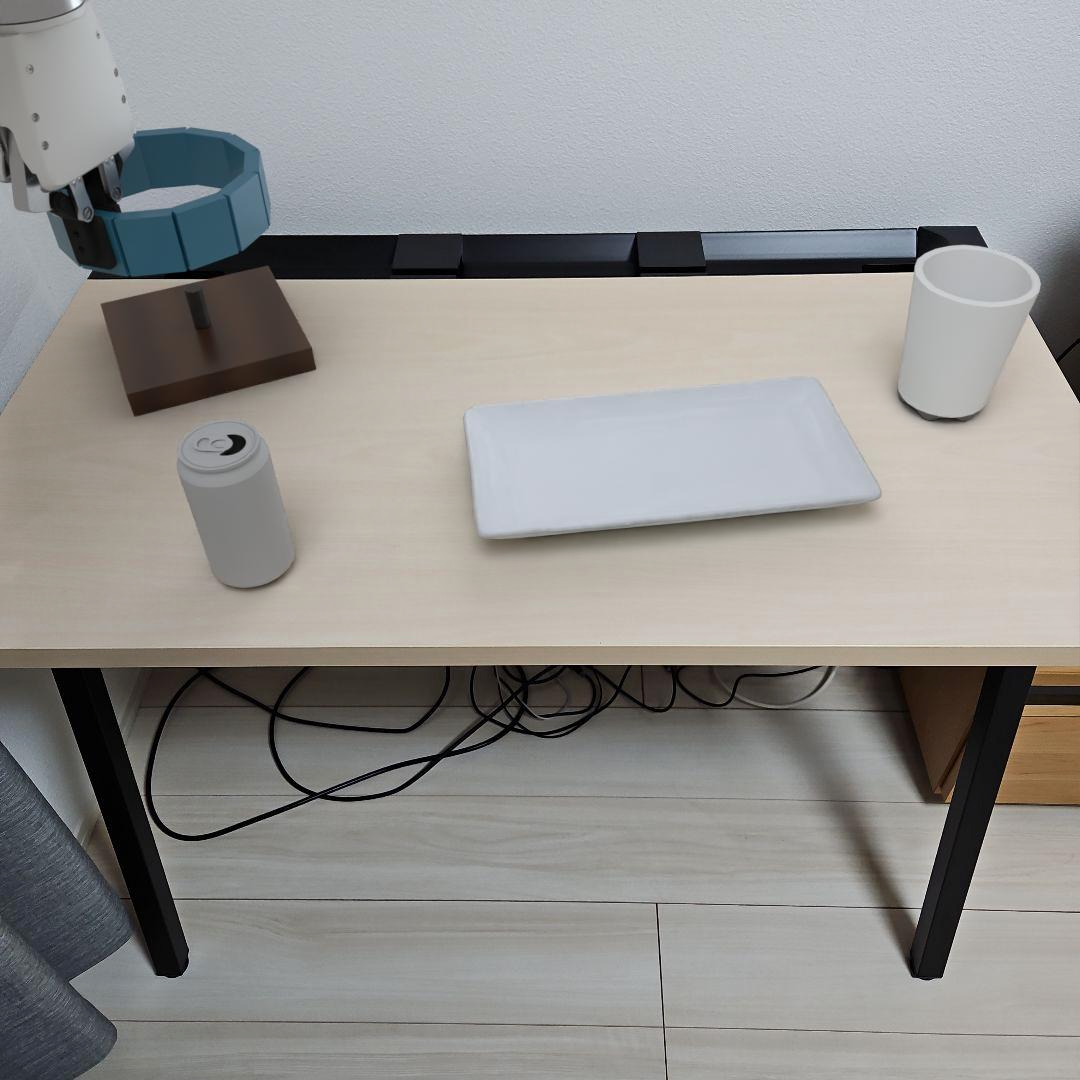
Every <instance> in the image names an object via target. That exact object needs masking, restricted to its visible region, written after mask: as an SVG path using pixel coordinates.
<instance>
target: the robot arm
mask: <svg viewBox="0 0 1080 1080" xmlns="http://www.w3.org/2000/svg"><path fill="white" fill-rule="evenodd" d="M129 103H130V102H129V99H128V96H127V92H126V90H125V86H124V82H123V80H122V77H121V74H120V71H119V68H118V64H117V62H116V59H115V57H114V53H113V51H112V49H111V46H110V44H109V41H108V40H107V37H106V34H105V31H104V29H103V27H102V25H101V23H100V21H99V18H98V16H97V14H96V12H95V10H94V7H93V6H92V4H91V1H90V0H0V183H3V184H11V190H12V200H13V205H14V208H15V209H16V210H17V211H19V212H25V213H30V214H40V213H46V212H48V211H49V212H51V213H52V215H53V216H55V217H60V218H62V220H63V223H64V226H65V229H66V232H67V235H68V238H69V241H70V243H71V246H72V249H73V252H74V255H75V258H76V260H77V262H78V263H79V264H81V265H86V266H91V267H97V268H102V269H107V270H112V269H113V268H114V267H115V266H116V265H117V263H116V258H115V255H114V252H113V249H112V246H111V243H110V239H109V236H108V233H107V230H106V227H105V224H104V221H103V218H102V216H96V215H94V210H93V209H98V210H103V211H109V212H116V213H121V212H122V209H121V206H120V204H119V202H121V201H122V200H123V198H122V196H123V192H122V187H121V183H120V177H121V172H122V168H123V163H124V162H125V161H126V159H127V158H128V156H129V155H130V153H131V152H132V150H133V149H134V147H135V141H134V139H133V135H134V133H135V127H134V120H133V116H132V112H131V107H130V104H129ZM40 187H41V188H40ZM61 189H66V191H67V193H68V195H66V194H64V193H63V192H62V190H61Z"/></svg>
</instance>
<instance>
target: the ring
mask: <svg viewBox="0 0 1080 1080" xmlns="http://www.w3.org/2000/svg"><path fill="white" fill-rule="evenodd" d="M133 139H134V141H135V147H134V149H133V150H132V152H131V153H130V155H129V156H128V158H127V159H126V161H125V162H124V163H123V168H122V172H121V177H120V183H121V187H122V192H123V196H122V199H124V198H127V197H131V196H134V195H136V194H140V193H143V192H147V191H149V190H156V189H166V188H180V187H190V186H202V187H208V188H213V189H219V190H218V191H217V192H215V193H211V194H208V195H206V196H202V197H199V198H197V199H193V200H191V201H187V202H183V203H181V204H178V205H175V206H172V207H167V208H166V207H165V208H156V209H154V208H153V209H144V210H135V211H125V212H124V211H121V213H116V212H109V211H103V210H98V209H93V210H94V215H96V216H102V218H103V221H104V224H105V227H106V230H107V233H108V236H109V239H110V243H111V246H112V249H113V252H114V255H115V258H116V263H117V265H116V266H115V267H114V268H113V269H112V270H107V269H102V268H97V267H91V266H86V265H81V264H79V263H78V262H77V260H76V258H75V255H74V252H73V249H72V246H71V243H70V241H69V238H68V235H67V232H66V229H65V226H64V223H63V220H62V218H60V217H55V216H53V215H52V213H51V212H49V211H48V212H45V214H46V216H47V218H48V221H49V224H50V227H51V230H52V232H53V235H54V238H55V240H56V243H57V246H58V248H59V249H60V250H61V252H63V253H64V254H65V255H66V256H67V257H68V258H69V259H70V260H71V261H72V262H74V263H75V265H77V266H78V267H79V268H82V269H85V270H89V271H95V272H100V273H105V274H111V275H115V276H121V277H126V278H127V277H129V276H130V277H132V278H133V277H143V276H144V277H145V276H154V275H165V274H174V273H175V274H176V273H184V272H187V270H188V269H189V270H190V271H194V270H196V269H199V268H202V267H205V266H207V265H210V264H213V263H215V262H218V261H222V260H224V259H227V258H229V257H233V256H235V255H238V254H239V253H240V252H243V251H244V250H246V249H247V248H248V247H249V246H250V245H251V244H252V243H254V242H255V241H256V240H257V239H258V238H259V237H261V236H262V235H263V234H265V232H266V231H268V230H269V229H270V227H271V213H272V211H271V209H272V208H271V207H272V205H271V204H272V203H271V198H270V194H269V188H268V183H267V179H266V173H265V168H264V164H263V159H262V158H263V157H262V155H261V154H262V153H261V150H260V149H259V148H258V147H256V146H255V145H254V144H251V143H250V142H249V141H247V140H245V139H243V138H242V137H241V136H239V135H237V134H235V133H233V134H232V132H229V131H222V130H221V131H220V130H212V129H207V128H206V129H205V128H200V127H192V126H190V127H188V128H187V126H180V127H168V128H157V129H156V128H155V129H144V130H143V129H142V130H136V132H134V135H133ZM40 188H41V187H40ZM61 190H62V192H63V193H64V194H66V195H68V193H67V191H66V189H61ZM239 251H240V252H239Z"/></svg>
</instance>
